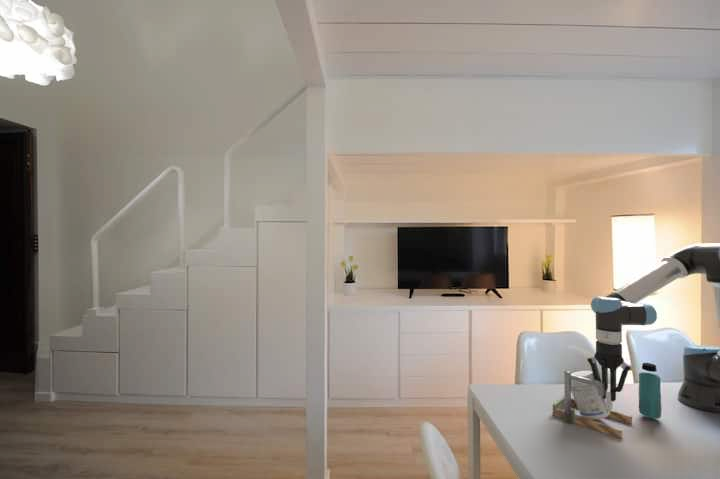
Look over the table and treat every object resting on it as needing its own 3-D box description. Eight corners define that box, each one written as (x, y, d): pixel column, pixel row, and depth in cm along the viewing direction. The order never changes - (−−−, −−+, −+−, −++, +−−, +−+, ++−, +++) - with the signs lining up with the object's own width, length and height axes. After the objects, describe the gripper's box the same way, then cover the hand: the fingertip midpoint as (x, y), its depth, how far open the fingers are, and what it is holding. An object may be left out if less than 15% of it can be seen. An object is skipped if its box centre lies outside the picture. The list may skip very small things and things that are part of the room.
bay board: (632, 423, 125) (632, 411, 125) (621, 438, 115) (621, 426, 115) (567, 402, 141) (567, 392, 141) (552, 414, 131) (552, 404, 131)
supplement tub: (592, 410, 133) (576, 370, 137) (617, 412, 125) (599, 370, 129) (575, 418, 129) (559, 377, 133) (599, 421, 121) (581, 377, 125)
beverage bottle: (665, 424, 125) (665, 367, 125) (644, 422, 126) (644, 366, 126) (654, 415, 131) (654, 361, 131) (634, 413, 133) (634, 360, 133)
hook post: (604, 433, 118) (604, 380, 119) (603, 435, 117) (603, 381, 117) (565, 420, 127) (565, 370, 128) (563, 421, 126) (563, 371, 126)
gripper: (584, 340, 127) (585, 406, 126) (628, 347, 117) (629, 419, 117) (590, 336, 132) (591, 400, 131) (633, 343, 122) (634, 412, 122)
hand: (609, 409), depth 124 cm, fingers closed
